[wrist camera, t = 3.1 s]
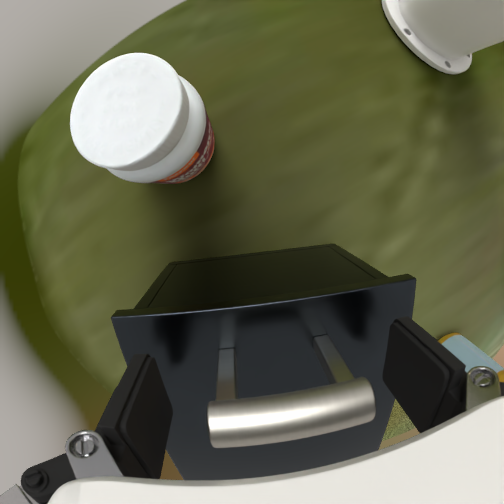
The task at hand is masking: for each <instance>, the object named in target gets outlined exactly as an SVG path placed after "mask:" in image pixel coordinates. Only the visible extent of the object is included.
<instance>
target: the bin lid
mask: <svg viewBox="0 0 504 504" xmlns="http://www.w3.org/2000/svg"><path fill="white" fill-rule="evenodd" d="M415 288H416V278H415V277H413V276H411V275H409V274H404V275H398V276H393V277H388V278H382V279H377V280H371V281H365V282H359V283H353V284H347V285H341V286H335V287H328V288H322V289H315V290H308V291H301V292H294V293H287V294H280V295H272V296H264V297H256V298H248V299H239V300H230V301H221V302H212V303H202V304H191V305H180V306H169V307H156V308H143V309H128V310H117V311H116V312H115V313H114V314H113V315H112V317H111V320H112V323H113V326H114V329H115V332H116V335H117V338H118V341H119V344H120V347H121V350H122V353H123V356H124V358H125V361H126V364H127V366H128V365H129V363H130V361H131V359H132V357H133V355H134V354H149V355H150V356H151V357H154V358H155V360H156V363H157V366H158V369H159V372H160V375H161V378H162V380H163V383H164V386H165V389H166V392H167V394H168V397H169V400H170V402H171V405H172V408H173V416H172V421H171V426H170V430H169V435H168V440H167V445H166V450H167V452H168V454H169V456H170V457H171V459H172V461H173V463H174V464H175V466H176V468H177V469H178V471H179V473H180V474H181V476H182V477H183V479H184V480H233V479H247V478H257V477H266V476H273V475H280V474H287V473H293V472H298V471H304V470H309V469H313V468H318V467H322V466H327V465H331V464H335V463H338V462H342V461H346V460H349V459H353V458H356V457H359V456H363V455H366V454H369V453H372V452H375V451H378V449H379V447H380V444H381V441H382V438H383V436H384V433H385V430H386V427H387V424H388V421H389V417H390V414H391V411H392V407H393V404H394V401H395V397H394V396H393V394H392V393H391V392H390V390H389V389H388V387H387V386H386V385H385V383H384V381H383V377H382V375H383V369H384V363H385V357H386V351H387V344H388V337H389V330H390V325H391V324H392V323H393V321H394V320H395V319H398V318H402V317H405V316H408V317H409V318H411V319H412V313H413V306H414V297H415Z"/></svg>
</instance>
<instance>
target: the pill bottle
mask: <svg viewBox="0 0 504 504" xmlns="http://www.w3.org/2000/svg"><path fill="white" fill-rule="evenodd" d="M70 128H71V134H72V138H73V141H74V144H75V146H76V147H77V149H78V151H79V152H80V153H81V155H82V156H83V157H84V158H85V159H87V160H88V161H90V162H91V163H93V164H95V165H97V166H100V167H104V168H107V169H108V170H109V171H110V172H111V173H112V174H114V175H115V176H117V177H119V178H121V179H124V180H127V181H131V182H138V183H164V184H177V183H182V182H185V181H188V180H190V179H192V178H194V177H196V176H197V175H198V174H200V173H201V172H202V171H203V170H204V169H205V167H206V166H207V165H208V163H209V161H210V159H211V157H212V154H213V151H214V143H215V141H214V133H213V130H212V127H211V124H210V121H209V118H208V116H207V113H206V109H205V106H204V103H203V101H202V99H201V97H200V96H199V94H198V93H197V91H196V90H195V88H194V87H193V86H192V85H191V84H190V83H189V82H188V81H186V80H185V79H184V78H182V77H180V76H179V75H178V74H177V73H176V71H175V70H174V69H173V68H172V66H171V65H169V64H168V63H167V62H166V61H164V60H163V59H161V58H159V57H157V56H154V55H151V54H146V53H131V54H126V55H122V56H119V57H116V58H114V59H112V60H110V61H108V62H106V63H104V64H103V65H101V66H100V67H99V68H98V69H96V70H95V71H94V72H93V73H92V74H91V75H90V76H89V77H88V78H87V80H86V81H85V82H84V83H83V85H82V86H81V88H80V90H79V91H78V93H77V96H76V98H75V100H74V103H73V107H72V110H71V117H70Z"/></svg>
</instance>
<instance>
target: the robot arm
mask: <svg viewBox="0 0 504 504" xmlns="http://www.w3.org/2000/svg"><path fill="white" fill-rule="evenodd" d="M382 6H383V10H384V12H385V15H386V17H387V19H388V21H389V23H390V25H391V26H392V28H393V29H394V30H395V32H396V33H397V35H398V36H399V37H400V38H401V40H402V41H403V42H404V43H405V44H406V45H407V46H408V47H409V48H410V49H411V50H412V51H413V52H414V53H415V54H416V55H417V56H418V57H419V58H421V59H422V60H423V61H424V62H426V63H427V64H429V65H430V66H432V67H433V68H435V69H437V70H439V71H441V72H444V73H447V74H459V73H462V72H464V71H466V70H467V69H468V68H469V67H470V64H471V61H472V53H473V52H476V51H478V50H481V49H484V48H486V47H489V46H491V45H494V44H497V43H499V42H502V41H504V0H382ZM465 368H466V365H465V364H464V363H463V362H462V361H460V360H459V359H458V358H457V357H456V356H455V355H454V354H452V353H451V352H450V351H449V350H448V349H447V348H445V347H444V346H443V345H442V344H441V343H440V342H438V341H437V340H436V339H435V338H434V337H432V336H431V335H430V334H429V333H428V332H426V331H425V330H424V329H423V328H422V327H420V326H419V325H418V324H417V323H415V322H414V321H413V320H412V319H411V318H409V317H408V316H405V317H402V318H398V319H395V320H394V321H393V323H392V324H391V325H390V330H389V337H388V344H387V351H386V357H385V363H384V369H383V375H382V377H383V381H384V383H385V385H386V386H387V387H388V389H389V390H390V392H391V393H392V394H393V396H394V397H395V399H396V400H397V401H398V403H399V404H400V406H401V407H402V408H403V410H404V411H405V413H406V414H407V415H408V417H409V418H410V420H411V421H412V423H413V424H414V425H415V427H416V428H417V430H418V431H419V432H420V434H418V435H416V436H414V437H411V438H409V439H407V440H404V441H402V442H400V443H397V444H394V445H391V446H389V447H387V448H383V449H381V450H378V451H375V452H372V453H369V454H366V455H363V456H359V457H356V458H353V459H349V460H346V461H342V462H338V463H335V464H331V465H327V466H322V467H318V468H313V469H309V470H304V471H298V472H293V473H287V474H280V475H273V476H266V477H257V478H247V479H233V480H163V479H159V478H160V476H161V470H162V465H163V460H164V454H165V450H166V445H167V440H168V435H169V430H170V426H171V421H172V416H173V408H172V405H171V402H170V400H169V397H168V394H167V392H166V389H165V386H164V383H163V380H162V378H161V375H160V372H159V369H158V366H157V363H156V360H155V358H154V357H151V356H150V355H149V354H134V355H133V357H132V359H131V361H130V363H129V365H128V367H127V369H126V371H125V373H124V375H123V377H122V378H121V380H120V382H119V384H118V386H117V387H116V388H115V390H114V392H113V394H112V396H111V398H110V400H109V402H108V405H107V406H106V409H105V411H104V413H103V415H102V417H101V419H100V421H99V423H98V425H97V428H96V430H95V431H92V430H82V431H78V432H76V433H74V434H72V435H71V436H70V437H69V438H68V440H67V441H66V445H65V450H66V453H65V454H62V455H60V456H57V457H55V458H53V459H50V460H48V461H45V462H43V463H40V464H38V465H35V466H32V467H30V468H28V469H27V470H26V471H25V472H24V473H23V475H22V478H21V486H20V487H19V486H18V485H17V484H16V485H14V486H13V487H12V488H11V489H9V490H7V491H6V492H5V493H3V494H2V495H0V504H504V382H499V377H498V374H497V373H496V372H495V371H494V370H493V369H491V368H489V367H486V366H476V367H473V368H471V369H470V370H469V371H468V373H467V372H466V371H465Z"/></svg>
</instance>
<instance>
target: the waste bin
mask: <svg viewBox="0 0 504 504" xmlns="http://www.w3.org/2000/svg"><path fill="white" fill-rule="evenodd" d="M382 278H388V277H387V276H386V275H384V274H383V273H381V272H380V271H378V270H376V269H375V268H373V267H372V266H370V265H369V264H367V263H365V262H364V261H362V260H360V259H359V258H357V257H356V256H354V255H352V254H351V253H349V252H347V251H346V250H344V249H343V248H341V247H339V246H337V245H336V244H326V245H318V246H309V247H301V248H292V249H284V250H275V251H266V252H258V253H249V254H241V255H232V256H224V257H215V258H206V259H198V260H189V261H180V262H172V263H169V264H168V265H167V266H166V268H165V269H164V270H163V271H162V273H161V274H160V275H159V276H158V278H157V279H156V280H155V282H154V283H153V284H152V285H151V287H150V288H149V289H148V291H147V292H146V293H145V295H144V296H143V297H142V298H141V300H140V301H139V302H138V304H137V305H136V306H135V308H134V309H143V308H156V307H169V306H180V305H191V304H202V303H212V302H221V301H230V300H239V299H248V298H256V297H264V296H272V295H280V294H287V293H294V292H301V291H308V290H315V289H322V288H328V287H335V286H341V285H347V284H353V283H359V282H365V281H371V280H377V279H382Z"/></svg>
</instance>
